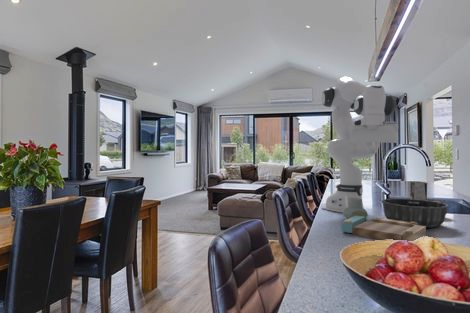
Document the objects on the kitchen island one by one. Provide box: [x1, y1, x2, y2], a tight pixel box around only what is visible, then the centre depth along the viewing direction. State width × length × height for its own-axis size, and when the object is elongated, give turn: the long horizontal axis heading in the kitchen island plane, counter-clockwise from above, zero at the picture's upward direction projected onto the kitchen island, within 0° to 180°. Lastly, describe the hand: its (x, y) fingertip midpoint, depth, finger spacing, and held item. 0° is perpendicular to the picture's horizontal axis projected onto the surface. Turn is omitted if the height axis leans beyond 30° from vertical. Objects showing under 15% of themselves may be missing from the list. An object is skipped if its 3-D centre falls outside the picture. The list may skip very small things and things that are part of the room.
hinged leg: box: [341, 215, 367, 234], centre depth 143 cm, size 18×4×5 cm, turn 143°
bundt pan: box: [381, 198, 449, 229], centre depth 154 cm, size 26×26×10 cm
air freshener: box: [342, 198, 368, 220], centre depth 163 cm, size 11×8×10 cm
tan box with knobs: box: [351, 217, 427, 241], centre depth 135 cm, size 22×20×4 cm
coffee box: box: [408, 181, 428, 200], centre depth 183 cm, size 9×6×16 cm
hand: (373, 153), depth 154 cm, fingers closed
